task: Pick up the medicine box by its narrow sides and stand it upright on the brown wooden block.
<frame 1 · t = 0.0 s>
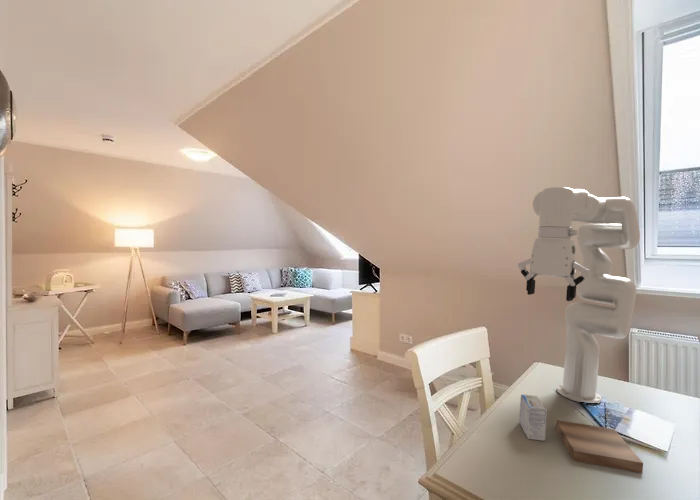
hand: (549, 297, 93), 37 cm above the table, tool pointing down, fingers open, 9 cm apart
medicine box: (531, 432, 94), on the table
brown wooden block: (594, 448, 88), on the table
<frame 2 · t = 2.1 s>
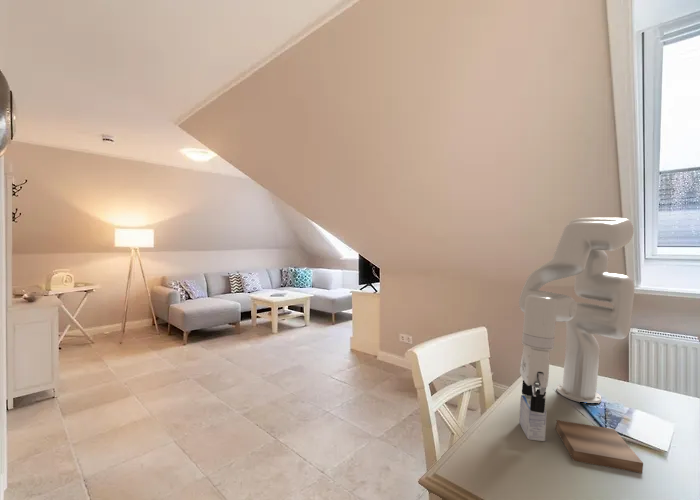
hand: (532, 402, 93), 8 cm above the table, tool pointing down, fingers open, 9 cm apart
medicine box: (531, 433, 94), on the table, touching gripper
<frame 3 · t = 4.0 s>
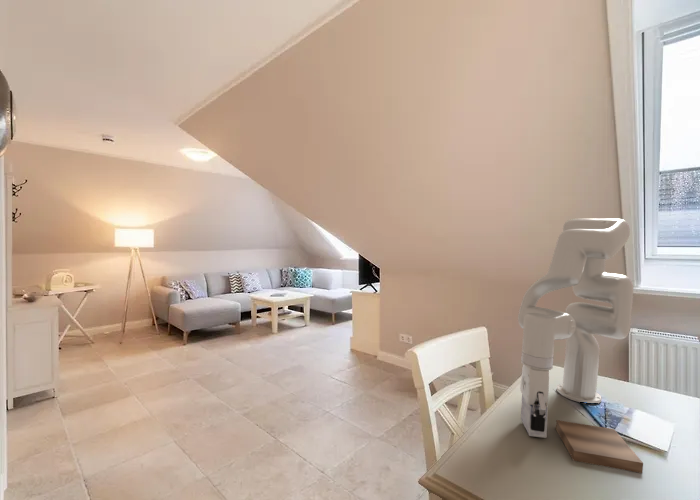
hand: (533, 420, 95), 3 cm above the table, tool pointing down, fingers closed on medicine box, 8 cm apart
medicine box: (532, 429, 95), on the table, touching gripper
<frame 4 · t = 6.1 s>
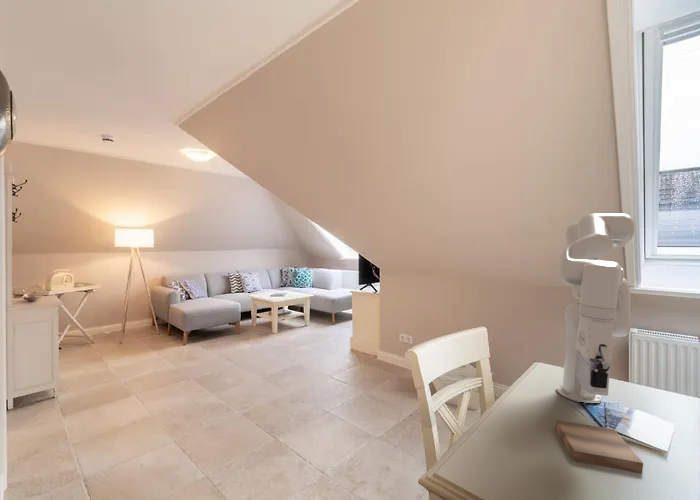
hand: (591, 379, 88), 18 cm above the table, tool pointing down, fingers closed on medicine box, 8 cm apart
medicine box: (590, 388, 88), point 15 cm above the table, touching gripper
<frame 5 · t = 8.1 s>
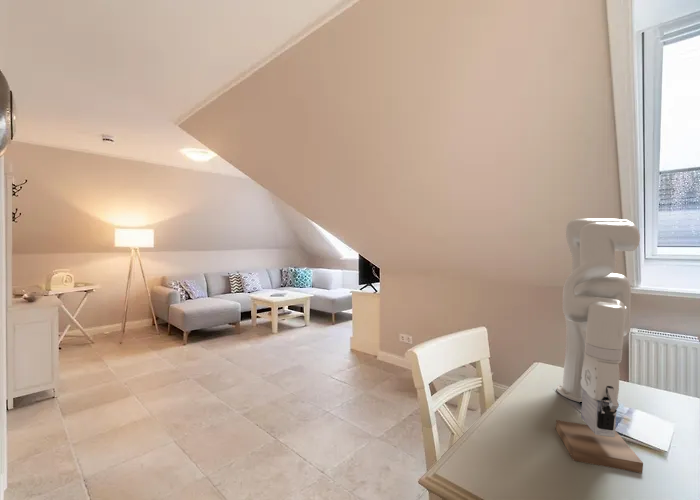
hand: (597, 419, 87), 8 cm above the table, tool pointing down, fingers closed on medicine box, 8 cm apart
medicine box: (596, 428, 87), point 5 cm above the table, touching gripper
when the fingers open (6 cm above the table, at t = 9.2 s): medicine box drops 1 cm, resting on brown wooden block.
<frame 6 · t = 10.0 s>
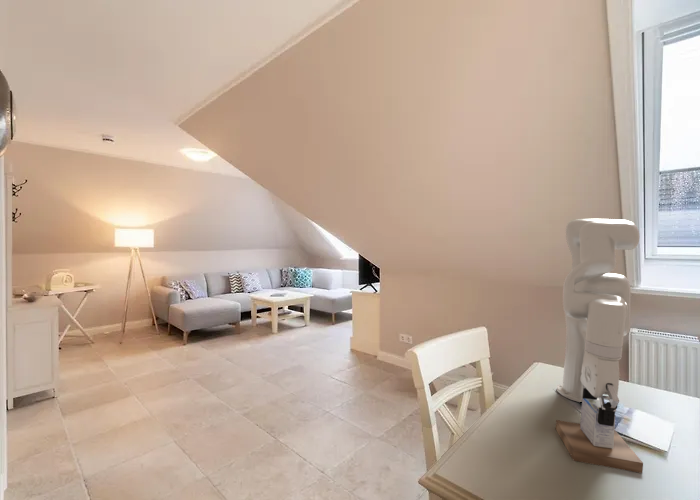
hand: (596, 413, 88), 9 cm above the table, tool pointing down, fingers open, 9 cm apart
medicine box: (595, 439, 88), point 2 cm above the table, touching gripper, brown wooden block
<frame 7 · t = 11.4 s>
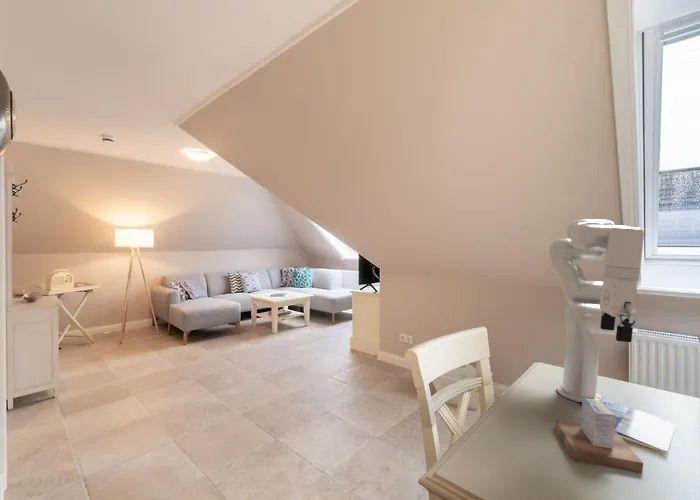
hand: (614, 335, 94), 27 cm above the table, tool pointing down, fingers open, 9 cm apart
medicine box: (595, 439, 88), point 2 cm above the table, touching brown wooden block
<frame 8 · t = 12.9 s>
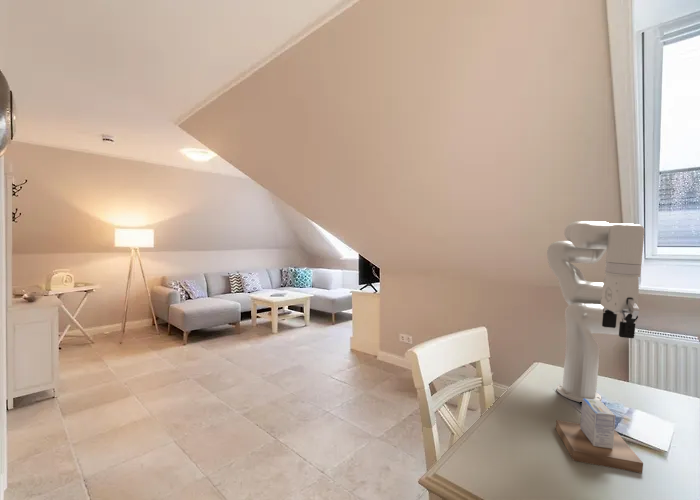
hand: (617, 332, 94), 28 cm above the table, tool pointing down, fingers open, 9 cm apart
nothing on the table moved.
at the end: medicine box inside the target area on the brown wooden block (0.2 cm from its centre), point 2.3 cm above the brown wooden block's base; medicine box tilted 0°; the gripper is holding nothing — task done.
